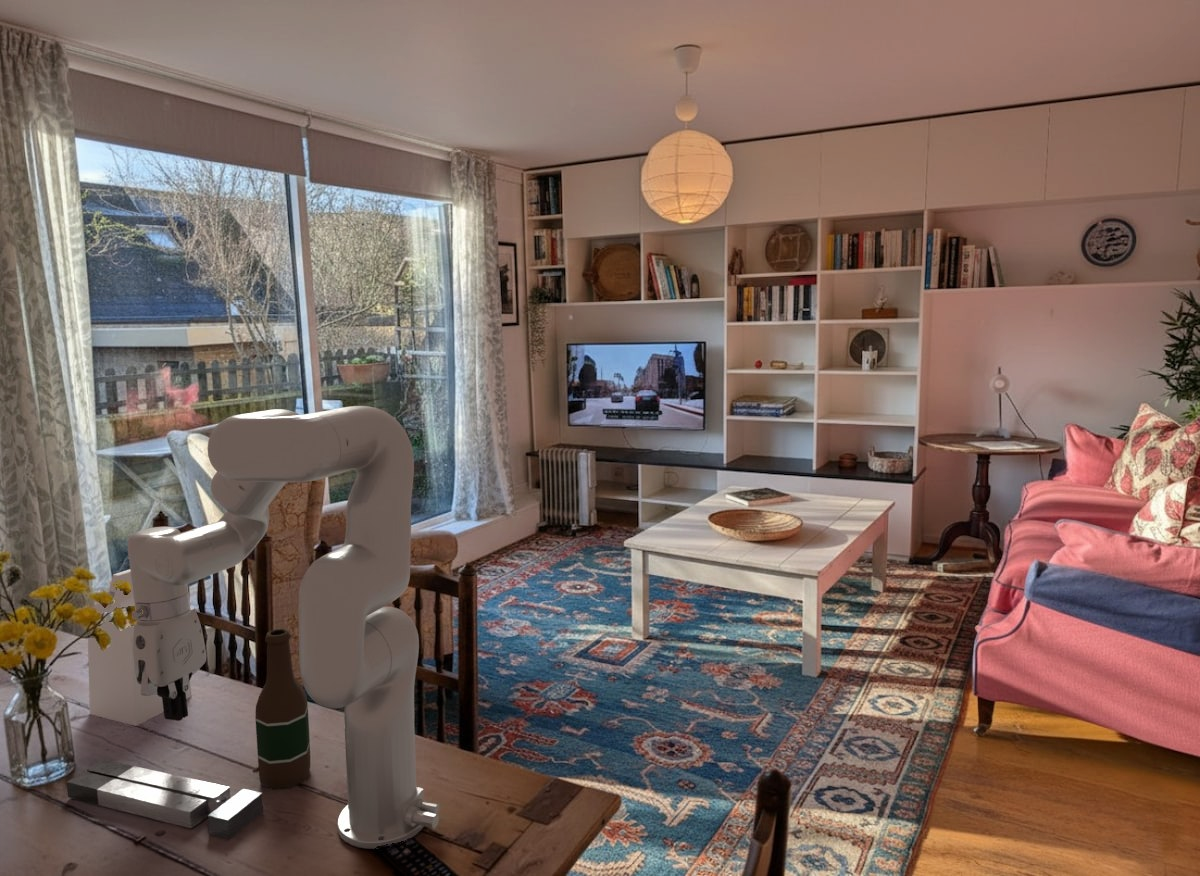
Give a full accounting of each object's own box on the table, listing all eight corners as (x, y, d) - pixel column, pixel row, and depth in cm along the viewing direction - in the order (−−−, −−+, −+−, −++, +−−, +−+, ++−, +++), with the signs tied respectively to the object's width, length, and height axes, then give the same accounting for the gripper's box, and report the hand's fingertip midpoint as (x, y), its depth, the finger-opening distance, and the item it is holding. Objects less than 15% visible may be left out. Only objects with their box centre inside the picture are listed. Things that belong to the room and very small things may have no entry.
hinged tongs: (263, 811, 120) (262, 793, 120) (229, 839, 114) (227, 820, 113) (107, 774, 129) (106, 757, 129) (68, 799, 123) (66, 780, 123)
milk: (147, 686, 160) (136, 557, 156) (191, 696, 156) (181, 564, 152) (89, 714, 149) (76, 576, 145) (135, 726, 145) (123, 584, 140)
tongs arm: (241, 804, 121) (240, 789, 121) (219, 823, 117) (217, 807, 117) (105, 774, 129) (104, 759, 129) (79, 790, 125) (77, 775, 124)
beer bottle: (294, 794, 125) (285, 644, 121) (248, 787, 126) (238, 639, 122) (321, 766, 132) (314, 624, 128) (277, 760, 134) (269, 620, 130)
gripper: (141, 625, 120) (156, 743, 122) (218, 592, 134) (230, 699, 136) (102, 622, 122) (117, 738, 125) (181, 590, 136) (194, 694, 139)
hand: (176, 717), depth 130 cm, fingers closed
